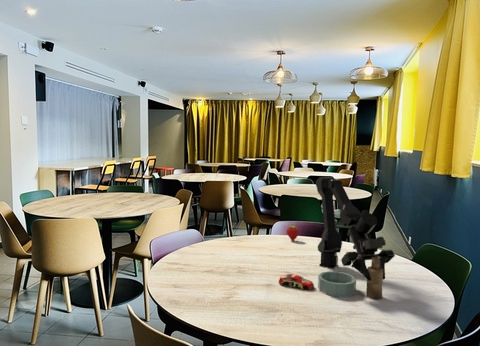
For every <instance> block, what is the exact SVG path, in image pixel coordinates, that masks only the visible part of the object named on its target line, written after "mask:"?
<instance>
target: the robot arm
mask: <svg viewBox="0 0 480 346" xmlns="http://www.w3.org/2000/svg"><path fill="white" fill-rule="evenodd" d="M315 187H316V189H317V193H318V194H319V196H320V197H321V206H322V215H323V226H324V228H323V229H324V230H323V232H322V234H321V240H320V242H319V243H318V245H317V251H318V252H320V263H319V265H318V266H319V267H324V268H331V269H335V268H336V267H337V266H338V264H339V262H338V261H339V255H338V254H340V253H341V250H342V248H343V247H342V246H343V239H342V233H341V232H339V231H338V230H337V227H336V217H335V216H336V215H335V205H334V200H335V201H336V203H337V206H338V208H339V210H340V213H339V217H340V218H339V219H340V222H341V224H342V225H343V226H344V227H350V228H348V231H347V234H346V236H347V237H350V239H351V242H353V246H352V248H353V250H355V251H346V253H345V254H344V255H343V256H342V257H341V263H342V266H344V267H347V266H350V267H351V268H354V269H356V271H357V272H358V273H360V274H361V275H362V276H363V277H364V278H365V279H366V281H367V280H369V281H370V280H371V277H370V274H369V272H368V269H367V268H368V267H367V265H366V261H372V257H379V258H380V263H379V267H380V268H382V269H383V281H385V280H386V270H385V269H386V268H385V267H386V266H385V265H386V264H388V263H389V262H390V261H391V260H393V258H394V257H396V255H395V253H394V251H393V250H392V249H383V247H384V246H386V240H385V238H384V237H383V236H378V237H375V238H369V237H368V234H369V233H370V232H372V230H373V229H374V228H375V226H376V225H377V224H378V218H377V217H376V216H375V215H374V214H372V213H370V212H369V211H368V210H362V211H360V210H359V209H358V208H357V207H356V206H354V205H353V204H352V202H351V200H350V198H349V195H348V194H347V191H346V190H345V188H344V186H343V181H342V180H341V179H335V178H334V177H333V176H332V177H331V176H326V177H325V176H324V177H322V176H321V177H318V178H317V179H316V180H315ZM378 249H382V250H380V251H379V252H378ZM377 252H378V253H377Z"/></svg>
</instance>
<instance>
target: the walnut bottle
mask: <svg viewBox="0 0 480 346" xmlns="http://www.w3.org/2000/svg"><path fill="white" fill-rule="evenodd" d="M379 263H380V258H379V257H372V260H371V266H368V267H367V269H368V272H369V274H370V277H371V280H370V281H369V280H367V279H366V291H365V292H366V293H365V296H366V298H368V299H371V300H373V301H374V300H375V301H378V300H382V299H383V285H384V283H383V282H384V280H383V269H382V268H380V267H379Z"/></svg>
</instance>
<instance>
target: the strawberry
mask: <svg viewBox="0 0 480 346" xmlns="http://www.w3.org/2000/svg"><path fill="white" fill-rule="evenodd" d="M286 234H287V236H288V237H289V239H290V240H291V241H292V242H294V241H295V240H296V239H297V238H298V236H299V234H300V230H299V228H298V226H295V225H290V226H288V227H287V228H286Z"/></svg>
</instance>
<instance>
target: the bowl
mask: <svg viewBox="0 0 480 346" xmlns="http://www.w3.org/2000/svg"><path fill="white" fill-rule="evenodd" d="M317 277H318V278H317V279H318V280H317V288H318V290H319V291H320V292H321V293H322V294H325V295H327V296H333V297H339V298H342V297H343V298H347V297H350V296H354V295H355V294H356V291H357V279H356V277H355V276H354V275H351V274H349V273H347V272H343V271H333V270H332V271H331V270H329V271H328V270H327V271H324V272H322V271H321V273H319V274H318V275H317Z"/></svg>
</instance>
